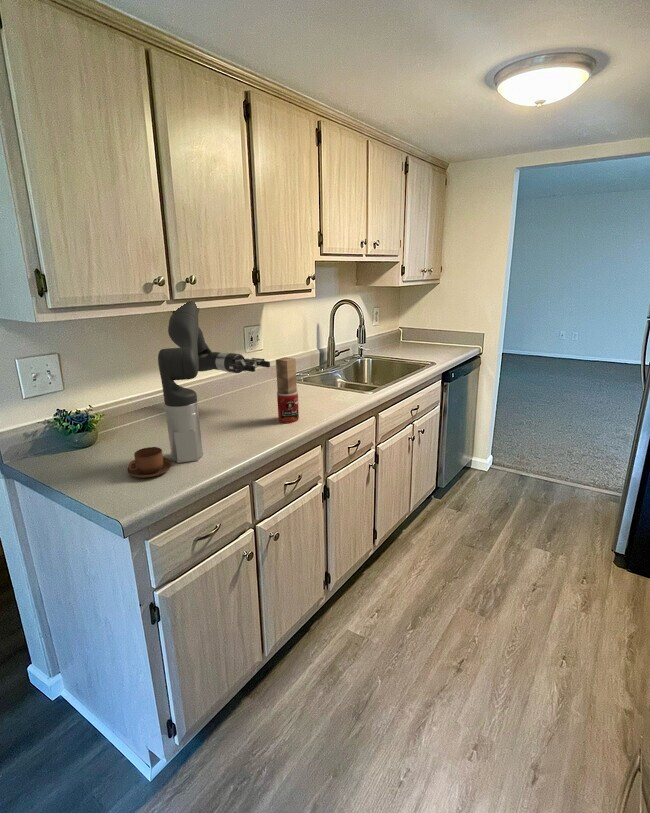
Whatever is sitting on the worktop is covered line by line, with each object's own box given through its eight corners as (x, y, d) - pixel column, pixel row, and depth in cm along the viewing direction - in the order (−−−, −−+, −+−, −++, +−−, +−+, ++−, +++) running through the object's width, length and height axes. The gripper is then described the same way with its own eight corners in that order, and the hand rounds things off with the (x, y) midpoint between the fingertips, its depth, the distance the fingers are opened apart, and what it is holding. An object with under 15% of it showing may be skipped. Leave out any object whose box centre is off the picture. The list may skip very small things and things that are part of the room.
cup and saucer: (156, 483, 125) (153, 462, 124) (118, 478, 129) (115, 458, 127) (181, 465, 136) (179, 446, 135) (146, 461, 140) (143, 442, 138)
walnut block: (296, 390, 171) (295, 358, 167) (288, 393, 167) (286, 360, 163) (286, 389, 174) (284, 357, 170) (277, 392, 170) (275, 359, 166)
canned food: (280, 424, 169) (278, 395, 166) (276, 417, 176) (275, 389, 173) (301, 422, 171) (299, 393, 168) (296, 415, 178) (295, 387, 175)
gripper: (216, 356, 175) (248, 360, 167) (242, 350, 187) (273, 353, 178) (217, 375, 178) (250, 380, 169) (243, 368, 189) (274, 372, 180)
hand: (262, 366), depth 174 cm, fingers open, 8 cm apart
